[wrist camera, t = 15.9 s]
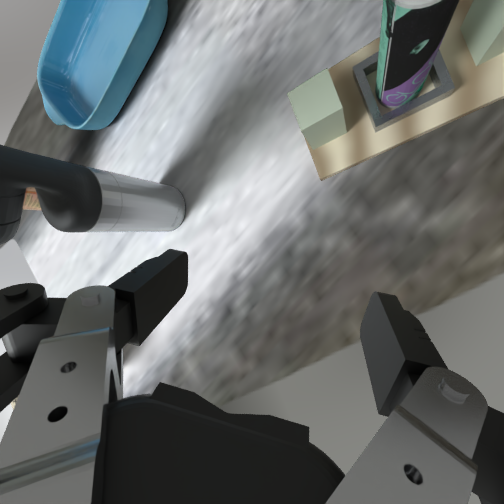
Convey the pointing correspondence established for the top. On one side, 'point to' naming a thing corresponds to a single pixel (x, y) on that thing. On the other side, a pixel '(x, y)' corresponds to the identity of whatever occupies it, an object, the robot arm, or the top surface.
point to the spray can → (409, 46)
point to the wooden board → (439, 114)
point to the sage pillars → (327, 101)
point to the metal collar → (379, 122)
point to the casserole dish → (96, 58)
